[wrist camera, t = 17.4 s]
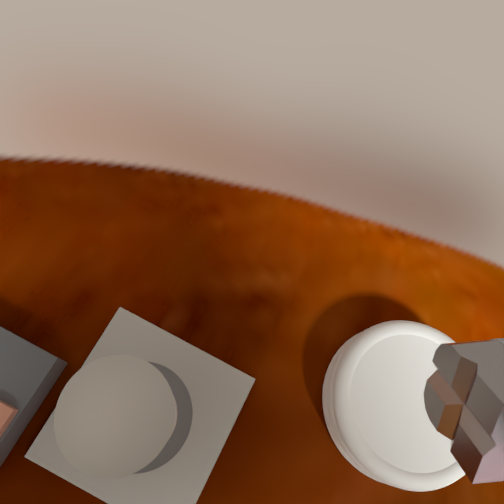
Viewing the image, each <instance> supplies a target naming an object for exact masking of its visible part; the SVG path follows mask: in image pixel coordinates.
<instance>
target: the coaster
mask: <svg viewBox="0 0 504 504" xmlns="http://www.w3.org/2000/svg"><path fill="white" fill-rule="evenodd" d="M444 343H456V342H455V341H453V340H452V339H451V338H450V337H448V336H447V335H445V334H444V333H442V332H440V331H439V330H437V329H435V328H432V327H430V326H428V325H425V324H422V323H418V322H413V321H405V320H395V321H387V322H382V323H379V324H377V325H374V326H372V327H370V328H368V329H366V330H364V331H362V332H360V333H358V334H356V335H354V336H353V337H351V338H350V339H349V340H347V341H346V342H345V343H344V344H343V345H342V346H341V347H340V348H339V349H338V351H337V352H336V354H335V355H334V356H333V358H332V360H331V362H330V364H329V366H328V369H327V372H326V374H325V379H324V383H323V392H322V404H323V412H324V418H325V422H326V425H327V428H328V431H329V433H330V435H331V438H332V440H333V441H334V443H335V445H336V447H337V448H338V450H339V451H340V452H341V454H342V455H343V456H344V458H345V459H346V460H347V461H348V462H349V463H350V464H351V465H352V466H354V467H355V468H356V469H357V470H359V471H360V472H361V473H363V474H365V475H366V476H368V477H370V478H372V479H374V480H376V481H378V482H381V483H384V484H387V485H390V486H394V487H397V488H400V489H403V490H408V491H419V492H425V491H432V490H436V489H440V488H443V487H446V486H448V485H450V484H452V483H454V482H456V481H457V480H458V479H460V478H461V477H463V476H464V475H465V472H464V471H463V470H462V468H461V467H460V465H459V464H458V462H457V461H456V459H455V458H454V456H453V455H452V453H451V452H450V448H451V440H450V439H449V438H447V437H445V436H444V435H442V434H441V433H439V432H438V431H436V429H435V427H434V426H433V424H432V423H431V421H430V420H429V417H428V415H427V412H426V409H425V403H424V389H425V385H426V381H427V379H428V378H429V377H430V376H431V375H432V374H433V373H434V372H435V371H436V370H437V369H436V367H435V365H434V363H433V362H432V360H433V357H434V354H435V351H436V349H437V348H438V347H439V346H440V345H441V344H444Z"/></svg>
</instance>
